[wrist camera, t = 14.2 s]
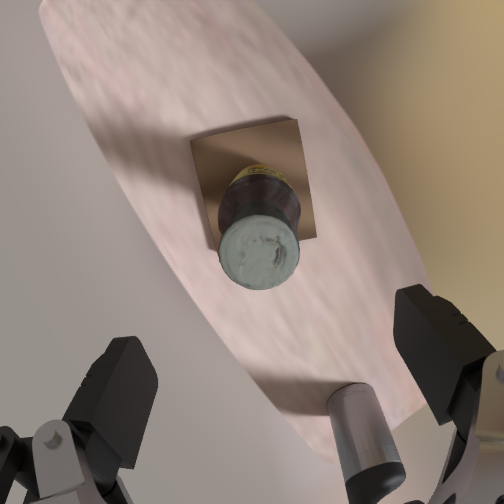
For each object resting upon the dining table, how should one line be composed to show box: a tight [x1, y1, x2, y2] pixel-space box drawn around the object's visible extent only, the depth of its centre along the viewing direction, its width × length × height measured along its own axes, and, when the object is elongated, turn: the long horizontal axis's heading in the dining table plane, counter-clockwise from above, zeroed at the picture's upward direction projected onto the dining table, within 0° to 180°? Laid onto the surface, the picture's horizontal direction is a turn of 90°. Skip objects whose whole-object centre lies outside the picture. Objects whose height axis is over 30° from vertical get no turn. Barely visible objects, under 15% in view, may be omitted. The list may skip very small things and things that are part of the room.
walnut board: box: [190, 119, 317, 256], centre depth 34 cm, size 14×12×1 cm
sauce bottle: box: [218, 164, 301, 290], centre depth 24 cm, size 6×6×20 cm
